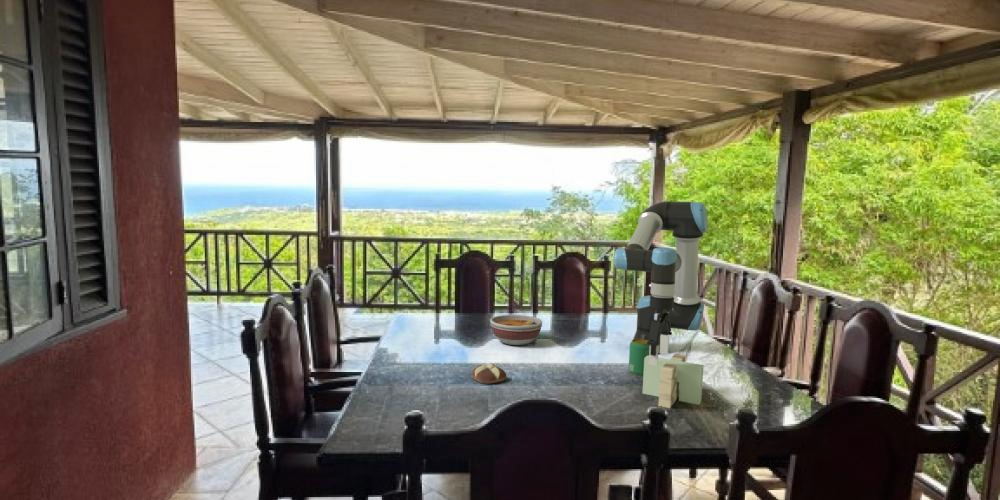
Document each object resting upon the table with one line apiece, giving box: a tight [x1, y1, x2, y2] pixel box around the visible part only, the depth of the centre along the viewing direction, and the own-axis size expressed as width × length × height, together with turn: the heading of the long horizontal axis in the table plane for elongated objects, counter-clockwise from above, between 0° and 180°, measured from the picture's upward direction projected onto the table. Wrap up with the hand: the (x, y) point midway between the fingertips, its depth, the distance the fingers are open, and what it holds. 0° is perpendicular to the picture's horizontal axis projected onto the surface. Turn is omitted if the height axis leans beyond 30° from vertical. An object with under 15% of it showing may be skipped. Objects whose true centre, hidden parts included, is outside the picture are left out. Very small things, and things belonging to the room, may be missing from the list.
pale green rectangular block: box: [642, 356, 704, 406], centre depth 178 cm, size 18×4×12 cm, turn 60°
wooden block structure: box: [658, 353, 687, 409], centre depth 178 cm, size 20×4×12 cm, turn 150°
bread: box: [471, 363, 507, 385], centre depth 191 cm, size 11×11×5 cm
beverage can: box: [628, 338, 650, 377], centre depth 202 cm, size 8×8×12 cm
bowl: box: [489, 314, 543, 346], centre depth 240 cm, size 23×23×10 cm
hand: (658, 359), depth 180 cm, fingers open, 13 cm apart
